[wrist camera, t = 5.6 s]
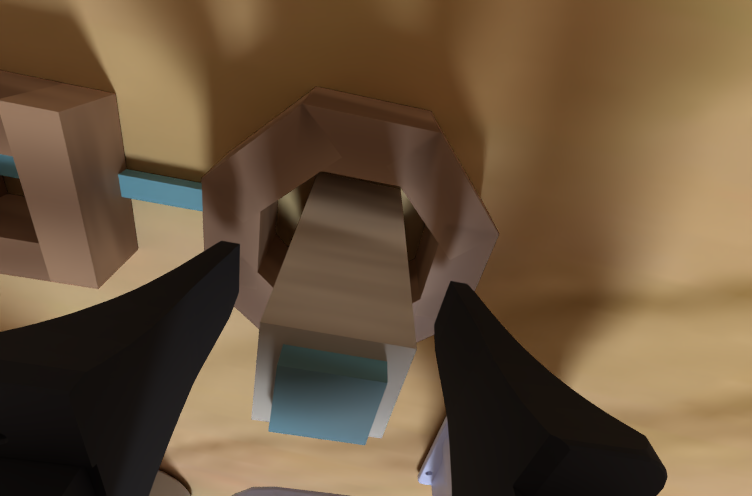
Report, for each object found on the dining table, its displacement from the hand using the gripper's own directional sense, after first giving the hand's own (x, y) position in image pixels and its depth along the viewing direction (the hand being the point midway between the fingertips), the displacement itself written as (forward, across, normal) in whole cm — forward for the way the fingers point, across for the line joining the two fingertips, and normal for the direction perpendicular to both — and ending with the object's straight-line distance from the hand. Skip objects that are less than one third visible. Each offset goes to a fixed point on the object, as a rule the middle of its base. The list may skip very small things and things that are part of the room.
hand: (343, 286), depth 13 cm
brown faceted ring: (+5, 0, 0) cm, 5 cm away
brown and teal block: (+5, 0, 0) cm, 5 cm away
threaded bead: (+5, +13, 0) cm, 14 cm away
